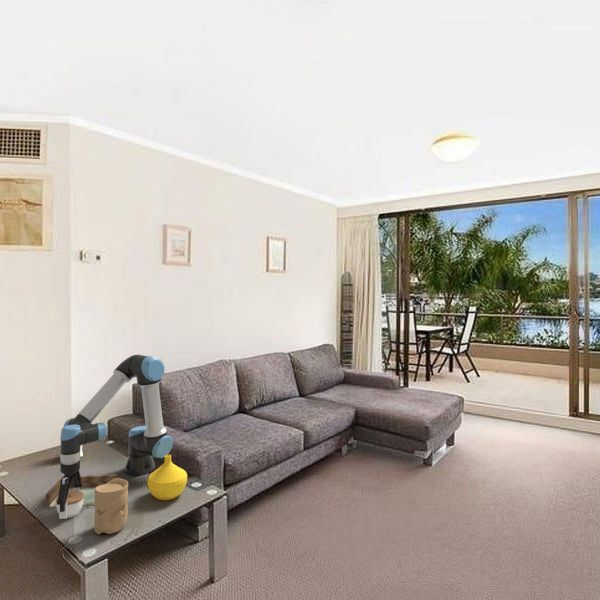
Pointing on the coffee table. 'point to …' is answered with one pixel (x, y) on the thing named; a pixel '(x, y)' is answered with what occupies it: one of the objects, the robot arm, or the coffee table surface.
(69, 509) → the lidded jar
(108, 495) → the container
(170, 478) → the vase
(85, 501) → the pad
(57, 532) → the coffee table surface
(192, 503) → the coffee table surface
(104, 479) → the walls
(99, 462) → the coffee table surface
